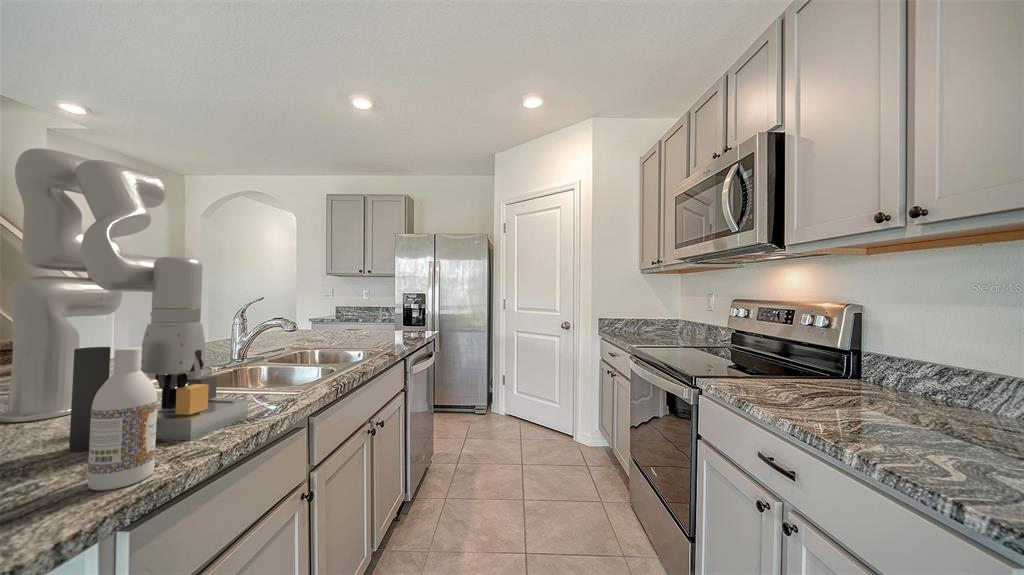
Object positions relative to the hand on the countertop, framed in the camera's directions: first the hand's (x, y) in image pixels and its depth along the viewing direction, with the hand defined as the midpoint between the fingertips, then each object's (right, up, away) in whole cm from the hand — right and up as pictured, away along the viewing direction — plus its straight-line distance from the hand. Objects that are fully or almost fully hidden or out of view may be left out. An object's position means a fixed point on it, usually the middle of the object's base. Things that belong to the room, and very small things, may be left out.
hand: (172, 406), depth 75 cm
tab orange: (+4, -1, 0) cm, 4 cm away
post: (-8, -5, -8) cm, 12 cm away
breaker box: (+2, -5, +3) cm, 6 cm away
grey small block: (-1, -1, +8) cm, 8 cm away
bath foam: (+10, -5, -19) cm, 22 cm away
